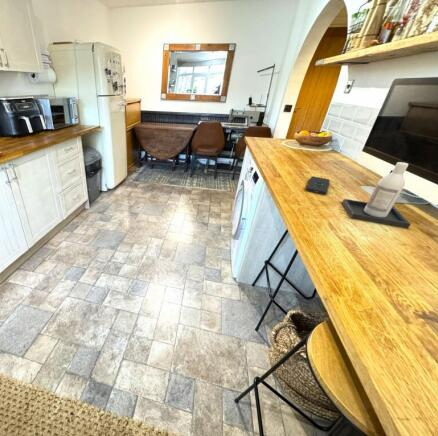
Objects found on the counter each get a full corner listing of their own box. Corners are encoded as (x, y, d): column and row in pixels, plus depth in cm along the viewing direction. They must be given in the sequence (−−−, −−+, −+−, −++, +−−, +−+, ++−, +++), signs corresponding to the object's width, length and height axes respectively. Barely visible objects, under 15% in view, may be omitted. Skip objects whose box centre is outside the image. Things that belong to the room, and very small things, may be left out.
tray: (391, 210, 96) (393, 206, 95) (407, 228, 84) (411, 223, 83) (341, 202, 101) (343, 198, 100) (351, 218, 90) (353, 213, 89)
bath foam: (372, 208, 96) (399, 159, 86) (391, 217, 90) (422, 165, 80) (358, 210, 94) (384, 160, 84) (377, 219, 89) (407, 167, 79)
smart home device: (306, 187, 111) (311, 175, 125) (305, 190, 112) (310, 178, 126) (327, 191, 107) (330, 179, 121) (326, 195, 108) (328, 182, 122)
